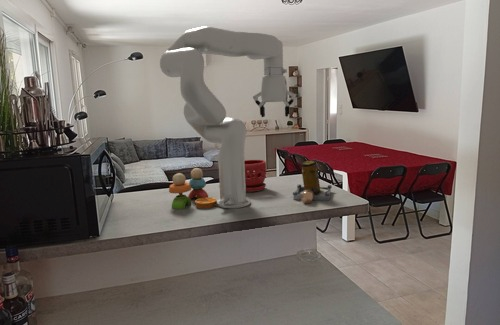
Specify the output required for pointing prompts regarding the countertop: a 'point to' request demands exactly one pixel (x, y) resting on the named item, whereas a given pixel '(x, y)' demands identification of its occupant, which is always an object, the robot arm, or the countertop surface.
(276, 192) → the countertop surface
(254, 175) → the plant pot
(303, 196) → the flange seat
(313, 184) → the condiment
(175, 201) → the wooden stacking toy
